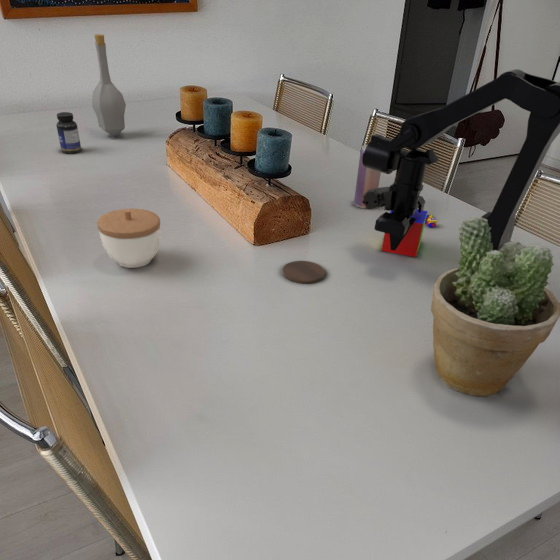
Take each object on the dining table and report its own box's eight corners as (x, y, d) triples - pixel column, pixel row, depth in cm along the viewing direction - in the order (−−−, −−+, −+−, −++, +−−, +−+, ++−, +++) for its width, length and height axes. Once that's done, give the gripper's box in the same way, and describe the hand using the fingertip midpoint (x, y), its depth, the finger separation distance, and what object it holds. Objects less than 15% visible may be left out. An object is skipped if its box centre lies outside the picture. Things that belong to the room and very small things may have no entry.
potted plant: (536, 366, 94) (595, 229, 78) (514, 429, 81) (578, 281, 65) (434, 332, 101) (469, 200, 85) (398, 385, 88) (431, 242, 72)
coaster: (314, 287, 112) (314, 284, 111) (275, 276, 115) (275, 273, 114) (331, 269, 118) (331, 267, 118) (293, 259, 121) (293, 257, 121)
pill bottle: (60, 149, 174) (52, 112, 168) (79, 147, 177) (73, 110, 170) (63, 154, 170) (55, 117, 163) (83, 153, 172) (76, 115, 165)
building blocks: (426, 214, 145) (427, 207, 144) (442, 226, 139) (444, 219, 138) (405, 216, 143) (406, 210, 142) (420, 228, 137) (422, 222, 136)
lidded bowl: (173, 252, 121) (169, 204, 114) (147, 278, 112) (141, 227, 105) (122, 243, 124) (114, 196, 117) (92, 268, 114) (82, 218, 107)
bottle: (137, 136, 189) (125, 35, 170) (113, 143, 181) (98, 38, 163) (113, 130, 194) (99, 31, 175) (89, 137, 186) (72, 34, 167)
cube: (381, 250, 126) (387, 217, 121) (387, 237, 132) (393, 205, 127) (416, 257, 125) (423, 223, 120) (420, 243, 131) (427, 211, 126)
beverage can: (350, 206, 147) (357, 148, 138) (358, 199, 151) (365, 142, 142) (371, 210, 145) (379, 152, 136) (378, 203, 149) (387, 147, 140)
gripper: (384, 161, 122) (371, 227, 131) (357, 184, 108) (345, 256, 118) (433, 171, 118) (416, 238, 128) (411, 197, 105) (394, 270, 114)
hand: (392, 249), depth 122 cm, fingers closed
